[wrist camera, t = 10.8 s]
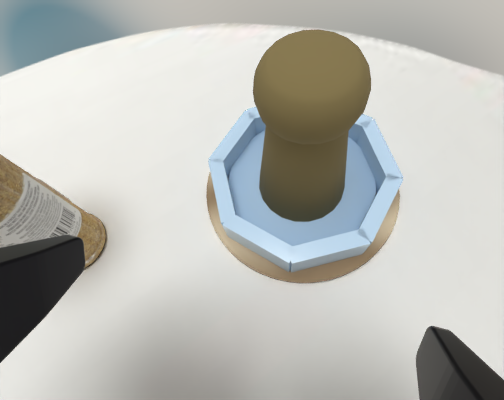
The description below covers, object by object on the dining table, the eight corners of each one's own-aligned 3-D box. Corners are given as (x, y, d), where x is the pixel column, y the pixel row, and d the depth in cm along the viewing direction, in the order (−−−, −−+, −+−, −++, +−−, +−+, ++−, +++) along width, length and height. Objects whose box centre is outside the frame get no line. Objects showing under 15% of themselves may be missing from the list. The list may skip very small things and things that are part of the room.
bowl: (413, 241, 21) (429, 228, 19) (238, 286, 21) (232, 278, 19) (349, 104, 27) (355, 82, 24) (207, 140, 26) (199, 120, 24)
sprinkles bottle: (79, 205, 25) (-109, 73, 13) (120, 234, 24) (-48, 118, 12) (35, 253, 24) (-220, 156, 12) (76, 287, 23) (-166, 216, 10)
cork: (348, 151, 24) (393, 10, 14) (340, 228, 21) (388, 124, 11) (267, 142, 25) (255, 4, 15) (251, 214, 22) (224, 107, 12)
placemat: (432, 253, 21) (435, 251, 21) (227, 306, 21) (226, 305, 21) (356, 96, 27) (356, 92, 27) (194, 136, 27) (193, 133, 27)
